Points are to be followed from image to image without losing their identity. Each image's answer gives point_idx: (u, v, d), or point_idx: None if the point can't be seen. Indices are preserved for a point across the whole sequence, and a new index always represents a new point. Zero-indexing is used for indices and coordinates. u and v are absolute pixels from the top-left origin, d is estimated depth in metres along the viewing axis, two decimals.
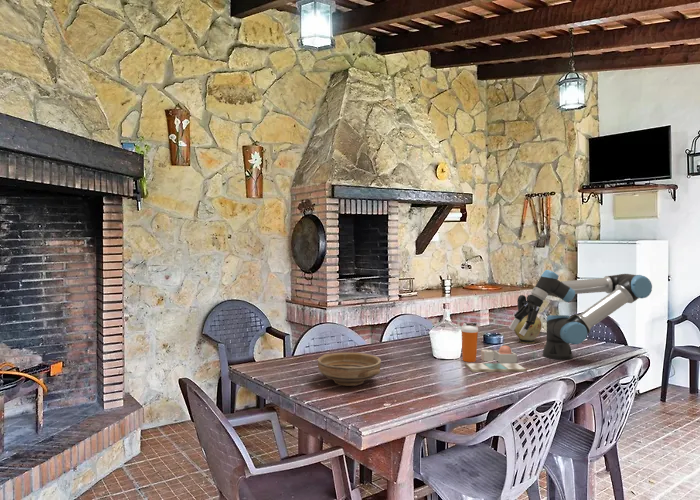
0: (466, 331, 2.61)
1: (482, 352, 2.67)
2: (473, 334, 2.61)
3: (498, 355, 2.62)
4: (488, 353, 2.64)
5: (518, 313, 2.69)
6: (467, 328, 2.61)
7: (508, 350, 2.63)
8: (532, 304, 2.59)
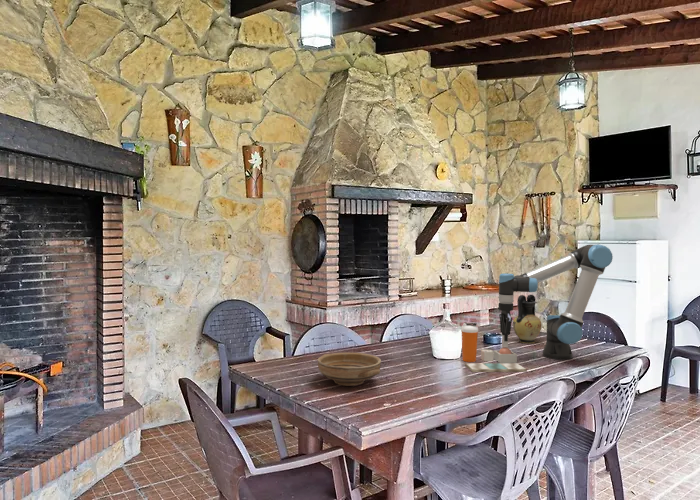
0: (466, 331, 2.61)
1: (482, 352, 2.67)
2: (473, 334, 2.61)
3: (498, 355, 2.62)
4: (488, 353, 2.64)
5: None
6: (467, 328, 2.61)
7: (508, 352, 2.63)
8: (505, 311, 2.62)
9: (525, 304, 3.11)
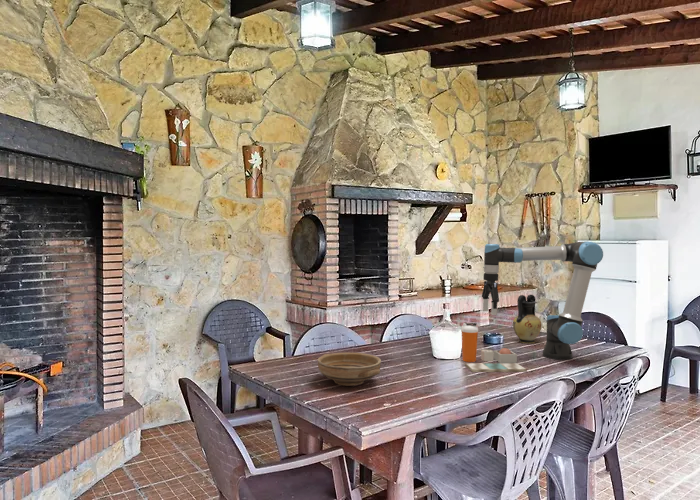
0: (466, 331, 2.61)
1: (482, 352, 2.67)
2: (473, 334, 2.61)
3: (498, 355, 2.62)
4: (488, 353, 2.64)
5: None
6: (467, 328, 2.61)
7: (508, 353, 2.63)
8: (490, 282, 2.62)
9: (525, 304, 3.11)
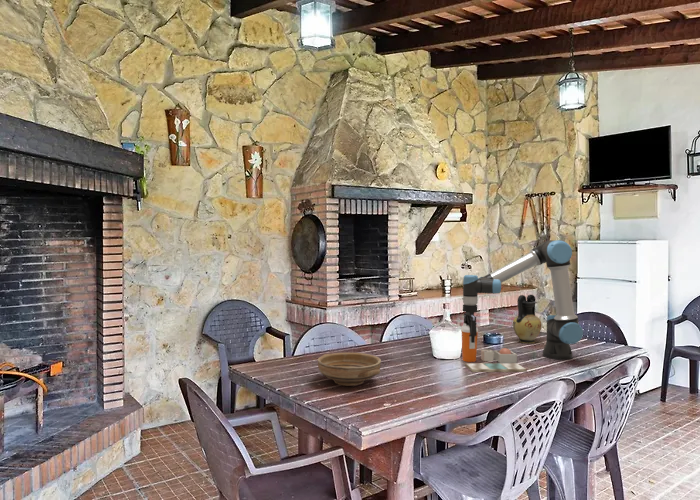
0: (466, 331, 2.61)
1: (482, 352, 2.67)
2: None
3: (498, 355, 2.62)
4: (488, 353, 2.64)
5: None
6: (467, 328, 2.61)
7: (508, 353, 2.63)
8: (469, 313, 2.62)
9: (525, 304, 3.11)
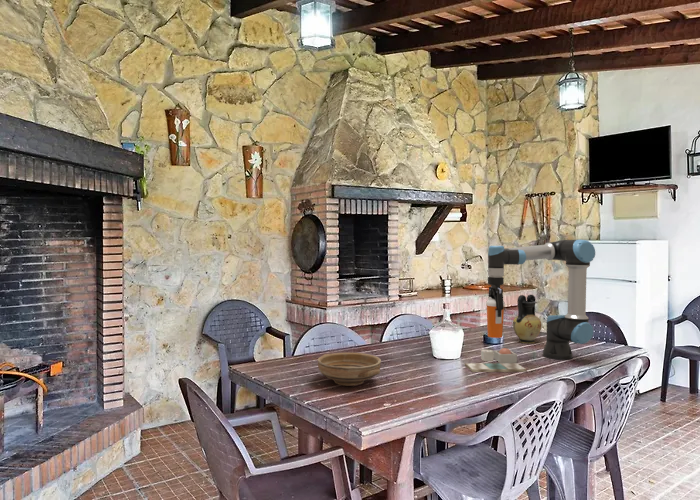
0: (492, 305, 2.45)
1: (482, 352, 2.67)
2: None
3: (498, 355, 2.62)
4: (488, 353, 2.64)
5: None
6: (493, 302, 2.45)
7: (508, 353, 2.63)
8: (495, 286, 2.46)
9: (525, 304, 3.11)
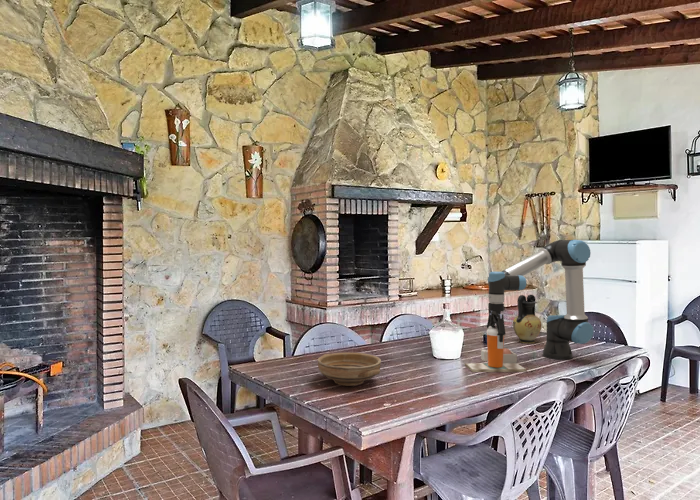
0: (492, 334, 2.45)
1: (482, 352, 2.67)
2: None
3: None
4: None
5: None
6: (493, 331, 2.45)
7: (508, 353, 2.63)
8: (495, 312, 2.46)
9: (525, 304, 3.11)
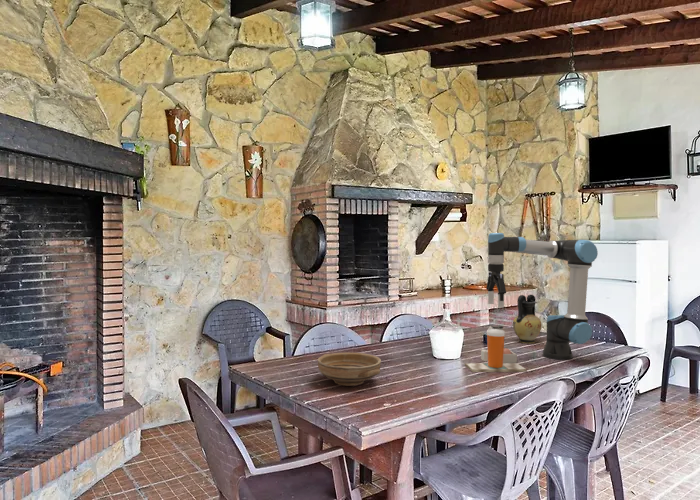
0: (492, 335, 2.45)
1: (482, 352, 2.67)
2: (500, 338, 2.44)
3: None
4: None
5: None
6: (493, 332, 2.45)
7: (508, 353, 2.63)
8: (495, 273, 2.49)
9: (525, 304, 3.11)
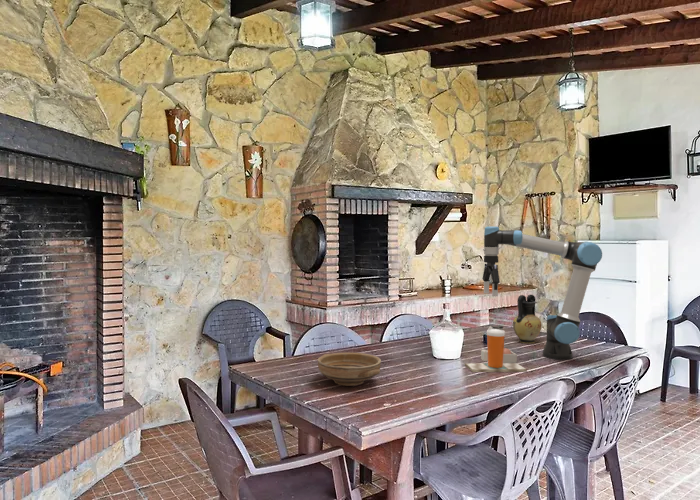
0: (492, 335, 2.45)
1: (482, 352, 2.67)
2: (500, 338, 2.44)
3: None
4: None
5: (484, 276, 2.76)
6: (493, 332, 2.45)
7: (508, 353, 2.63)
8: (490, 264, 2.66)
9: (525, 304, 3.11)
